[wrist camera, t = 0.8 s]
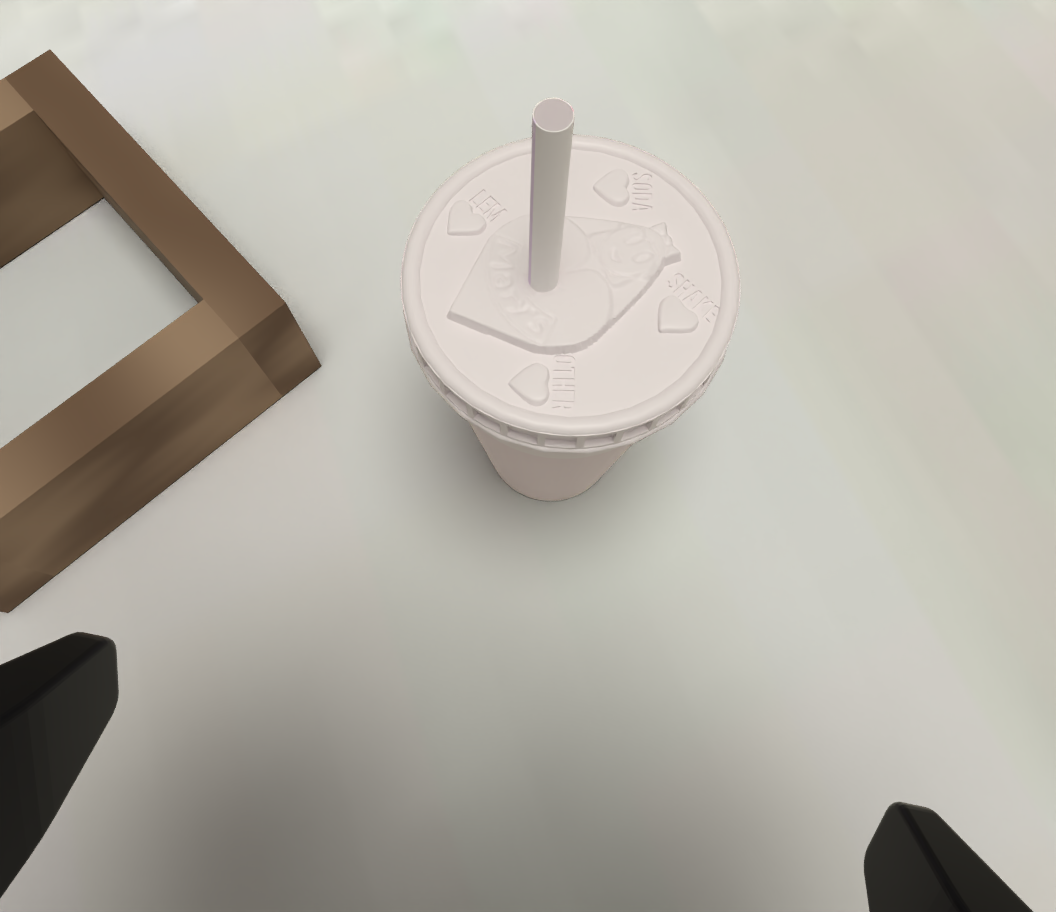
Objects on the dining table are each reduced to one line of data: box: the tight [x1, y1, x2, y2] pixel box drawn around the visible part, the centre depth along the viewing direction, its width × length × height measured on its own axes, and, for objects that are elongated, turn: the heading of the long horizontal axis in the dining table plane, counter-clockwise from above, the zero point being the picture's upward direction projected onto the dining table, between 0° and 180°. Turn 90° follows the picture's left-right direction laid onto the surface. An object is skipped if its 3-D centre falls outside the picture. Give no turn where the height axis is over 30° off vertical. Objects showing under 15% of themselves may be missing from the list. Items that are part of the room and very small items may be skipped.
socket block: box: [0, 50, 321, 613], centre depth 23 cm, size 11×11×4 cm
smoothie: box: [401, 98, 740, 501], centre depth 17 cm, size 6×6×14 cm
